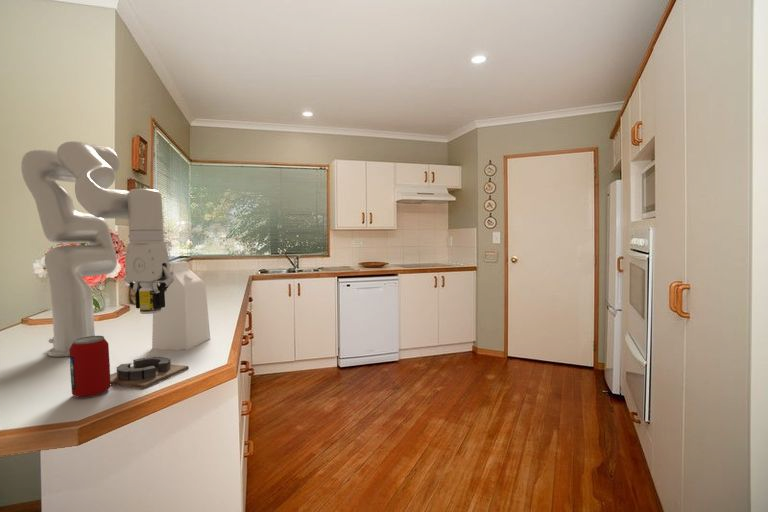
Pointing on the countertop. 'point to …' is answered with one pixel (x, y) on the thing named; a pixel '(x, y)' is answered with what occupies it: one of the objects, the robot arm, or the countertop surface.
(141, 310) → the supplement bottle
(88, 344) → the beverage can
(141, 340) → the countertop surface
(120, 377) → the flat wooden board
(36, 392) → the countertop surface
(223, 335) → the countertop surface
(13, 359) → the countertop surface
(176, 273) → the milk
